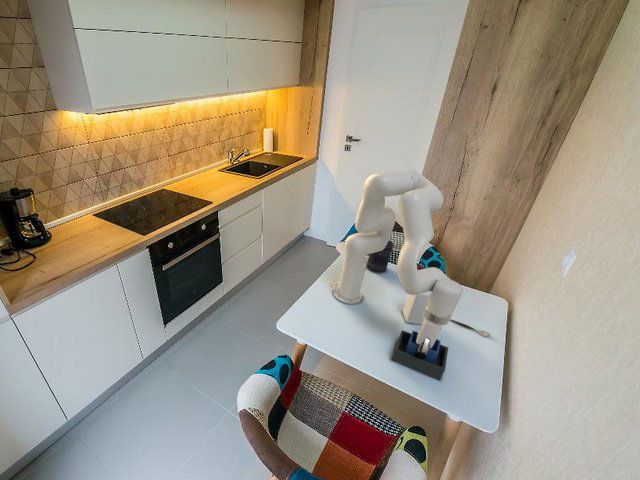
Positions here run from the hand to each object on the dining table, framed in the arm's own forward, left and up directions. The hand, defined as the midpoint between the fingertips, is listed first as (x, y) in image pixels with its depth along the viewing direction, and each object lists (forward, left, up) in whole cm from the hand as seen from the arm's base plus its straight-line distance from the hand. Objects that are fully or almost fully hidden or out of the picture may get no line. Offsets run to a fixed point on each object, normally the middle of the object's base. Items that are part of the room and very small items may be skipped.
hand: (420, 352), depth 114 cm
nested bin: (0, 0, -1) cm, 1 cm away
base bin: (0, 0, -3) cm, 3 cm away
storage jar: (-28, +55, -4) cm, 62 cm away
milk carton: (-5, +23, -4) cm, 24 cm away
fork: (+15, +29, -4) cm, 33 cm away
